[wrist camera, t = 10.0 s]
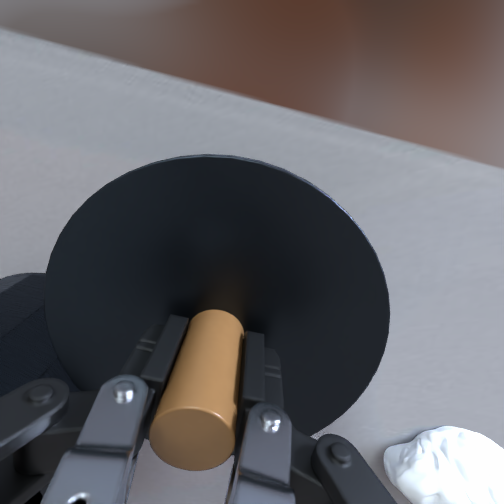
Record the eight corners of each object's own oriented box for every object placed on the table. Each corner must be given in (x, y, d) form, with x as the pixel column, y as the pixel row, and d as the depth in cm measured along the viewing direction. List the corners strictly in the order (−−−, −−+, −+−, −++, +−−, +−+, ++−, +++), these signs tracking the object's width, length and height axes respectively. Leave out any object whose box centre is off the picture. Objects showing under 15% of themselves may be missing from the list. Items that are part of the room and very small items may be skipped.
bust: (493, 435, 29) (667, 488, 18) (492, 535, 26) (691, 664, 16) (370, 402, 28) (478, 438, 17) (357, 503, 26) (473, 617, 15)
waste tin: (-43, 253, 22) (-298, 353, 12) (153, 295, 22) (68, 423, 12) (-28, 402, 26) (-203, 564, 16) (134, 433, 27) (61, 606, 17)
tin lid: (68, 107, 12) (-127, 82, 6) (437, 206, 12) (590, 269, 7) (54, 402, 17) (-58, 548, 11) (319, 458, 17) (349, 620, 12)
